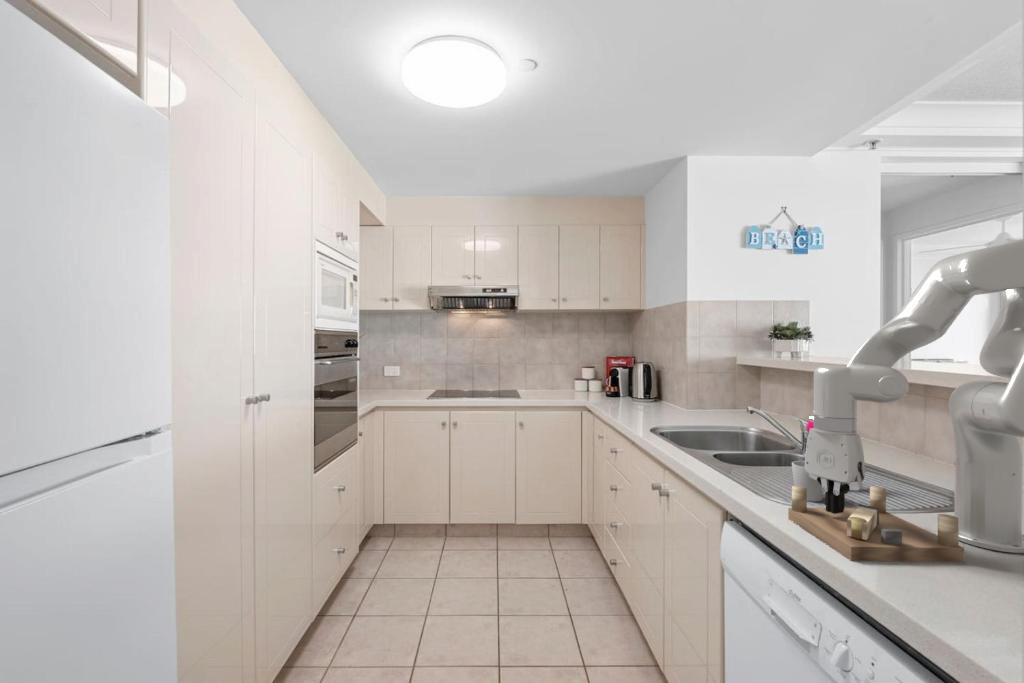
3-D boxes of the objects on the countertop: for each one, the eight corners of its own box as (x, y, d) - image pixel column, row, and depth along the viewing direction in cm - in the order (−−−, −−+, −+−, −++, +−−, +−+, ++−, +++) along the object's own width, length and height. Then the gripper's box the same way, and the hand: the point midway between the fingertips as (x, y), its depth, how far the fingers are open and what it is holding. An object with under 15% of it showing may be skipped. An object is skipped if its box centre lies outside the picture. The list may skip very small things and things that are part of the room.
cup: (789, 499, 119) (789, 465, 119) (794, 489, 127) (794, 457, 127) (825, 505, 114) (825, 470, 114) (828, 495, 122) (829, 462, 122)
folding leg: (866, 541, 87) (866, 523, 87) (846, 536, 90) (846, 518, 90) (878, 523, 96) (878, 507, 96) (859, 519, 98) (859, 503, 98)
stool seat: (851, 560, 85) (851, 519, 85) (788, 519, 105) (788, 485, 105) (963, 561, 85) (964, 520, 85) (879, 519, 105) (879, 486, 105)
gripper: (789, 420, 106) (789, 502, 105) (860, 432, 92) (860, 527, 92) (813, 418, 108) (813, 498, 108) (885, 429, 94) (885, 522, 94)
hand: (834, 511), depth 100 cm, fingers closed
